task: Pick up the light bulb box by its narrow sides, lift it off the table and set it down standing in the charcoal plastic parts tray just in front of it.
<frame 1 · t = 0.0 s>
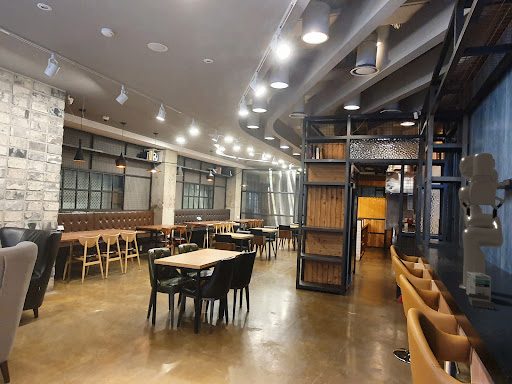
hand: (481, 217, 161), 37 cm above the table, tool pointing down, fingers open, 9 cm apart
parts tray: (480, 303, 150), on the table
light bulb box: (478, 297, 163), on the table
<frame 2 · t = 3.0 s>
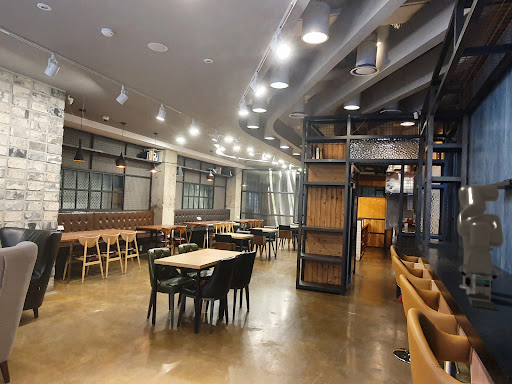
hand: (478, 287, 163), 5 cm above the table, tool pointing down, fingers closed on light bulb box, 7 cm apart
light bulb box: (477, 297, 163), on the table, touching gripper
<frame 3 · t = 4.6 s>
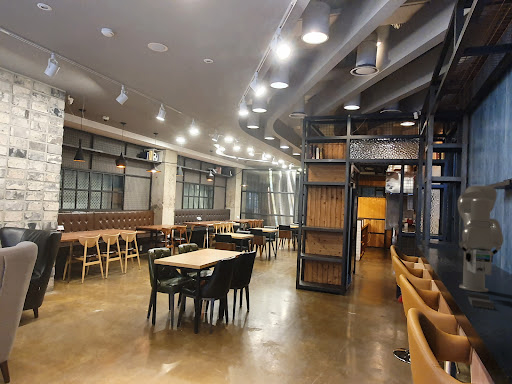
hand: (478, 262, 164), 16 cm above the table, tool pointing down, fingers closed on light bulb box, 7 cm apart
light bulb box: (478, 272, 164), point 11 cm above the table, touching gripper
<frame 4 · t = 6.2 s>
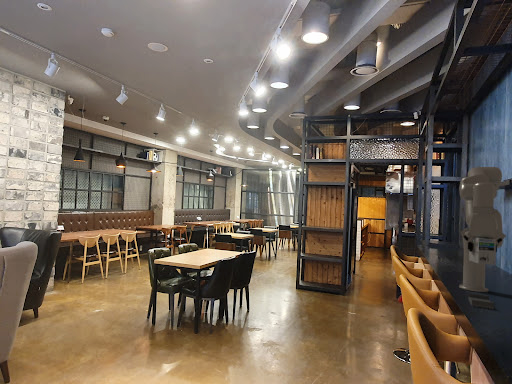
hand: (481, 252, 151), 22 cm above the table, tool pointing down, fingers closed on light bulb box, 7 cm apart
light bulb box: (481, 263, 151), point 17 cm above the table, touching gripper
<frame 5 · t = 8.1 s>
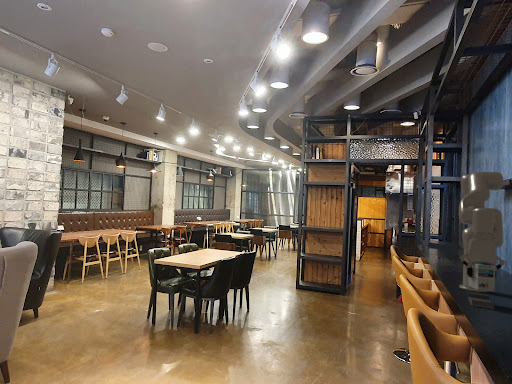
hand: (481, 278, 150), 11 cm above the table, tool pointing down, fingers closed on light bulb box, 7 cm apart
light bulb box: (480, 289, 150), point 6 cm above the table, touching gripper
when the fingers open (7 cm above the table, at t = 9.5 s): light bulb box drops 2 cm, resting on parts tray.
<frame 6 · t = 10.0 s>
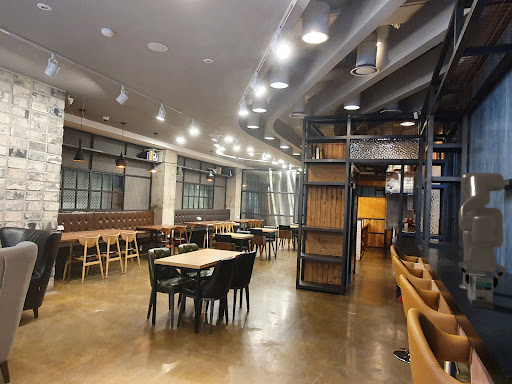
hand: (481, 285, 150), 8 cm above the table, tool pointing down, fingers open, 9 cm apart
light bulb box: (479, 301, 150), point 1 cm above the table, touching parts tray
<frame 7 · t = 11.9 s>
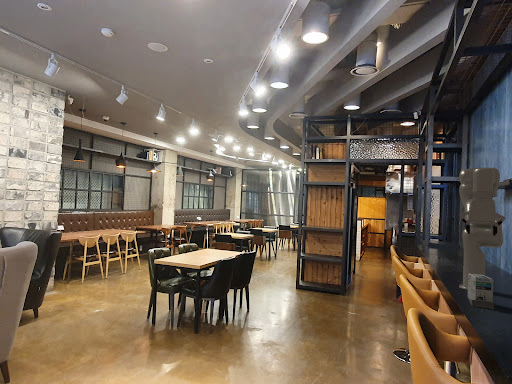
hand: (481, 234, 157), 29 cm above the table, tool pointing down, fingers open, 9 cm apart
nothing on the table moved.
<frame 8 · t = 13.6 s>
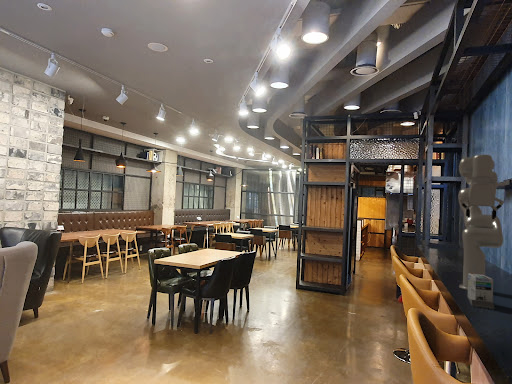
hand: (480, 218, 162), 36 cm above the table, tool pointing down, fingers open, 9 cm apart
nothing on the table moved.
at the end: light bulb box 0.4 cm off-centre on the parts tray, point 0.8 cm above the parts tray's base; light bulb box tilted 0°; the gripper is holding nothing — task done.
